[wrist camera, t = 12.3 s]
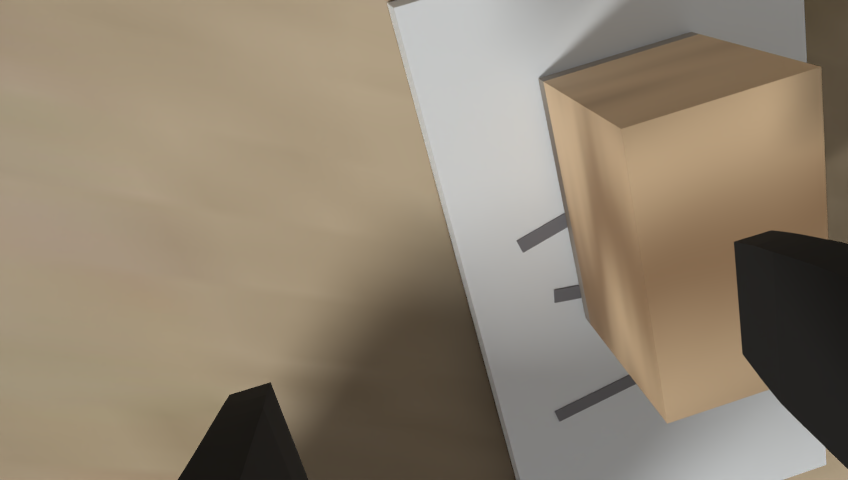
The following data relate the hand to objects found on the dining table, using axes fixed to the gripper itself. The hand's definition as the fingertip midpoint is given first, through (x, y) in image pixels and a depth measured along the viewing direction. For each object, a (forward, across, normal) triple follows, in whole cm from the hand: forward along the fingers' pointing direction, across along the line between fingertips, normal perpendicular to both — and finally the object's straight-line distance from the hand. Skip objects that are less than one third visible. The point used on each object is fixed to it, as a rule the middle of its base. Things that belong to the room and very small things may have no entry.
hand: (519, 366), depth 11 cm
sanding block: (+9, -6, +2) cm, 10 cm away
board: (+10, -6, +4) cm, 12 cm away
